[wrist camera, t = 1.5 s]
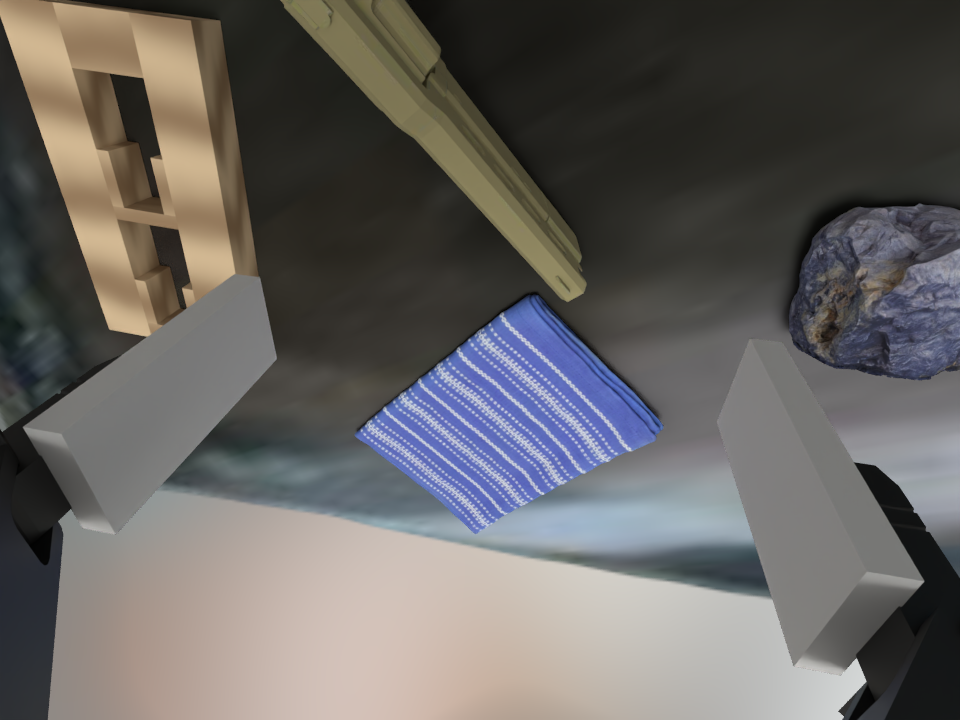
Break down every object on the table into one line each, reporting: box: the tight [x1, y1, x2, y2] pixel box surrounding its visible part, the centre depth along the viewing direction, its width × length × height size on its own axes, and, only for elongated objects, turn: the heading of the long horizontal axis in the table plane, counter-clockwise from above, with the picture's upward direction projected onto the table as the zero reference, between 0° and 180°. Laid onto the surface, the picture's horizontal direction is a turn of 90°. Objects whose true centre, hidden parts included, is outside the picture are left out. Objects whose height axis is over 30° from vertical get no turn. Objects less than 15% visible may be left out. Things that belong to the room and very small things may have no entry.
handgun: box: [281, 0, 587, 302], centre depth 29 cm, size 4×30×16 cm, turn 36°
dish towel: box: [355, 295, 663, 534], centre depth 47 cm, size 17×24×3 cm
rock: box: [789, 203, 960, 380], centre depth 32 cm, size 11×10×10 cm
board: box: [0, 0, 259, 337], centre depth 39 cm, size 24×13×3 cm, turn 174°
